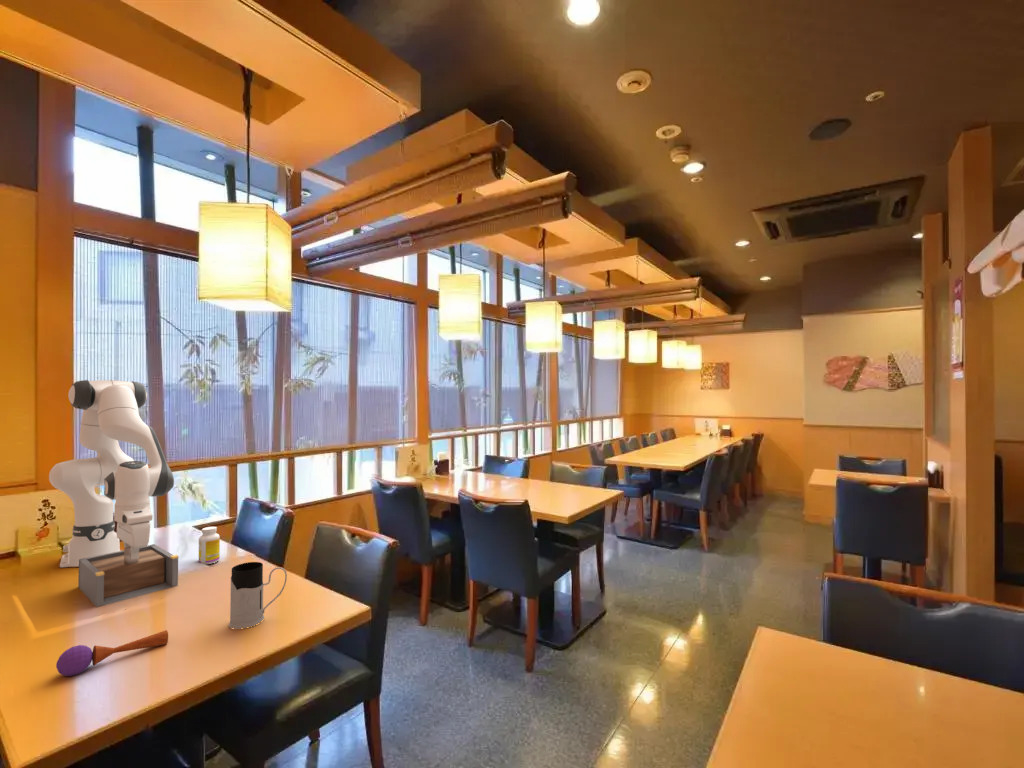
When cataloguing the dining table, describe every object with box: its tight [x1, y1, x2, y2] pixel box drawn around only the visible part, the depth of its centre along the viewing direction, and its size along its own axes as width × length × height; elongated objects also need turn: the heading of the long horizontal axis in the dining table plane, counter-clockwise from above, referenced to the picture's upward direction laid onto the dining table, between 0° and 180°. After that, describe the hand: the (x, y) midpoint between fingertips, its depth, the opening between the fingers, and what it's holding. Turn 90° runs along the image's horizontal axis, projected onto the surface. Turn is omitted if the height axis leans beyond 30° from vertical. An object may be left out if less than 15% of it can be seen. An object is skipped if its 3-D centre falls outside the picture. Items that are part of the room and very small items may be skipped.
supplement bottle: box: [198, 526, 221, 565], centre depth 178 cm, size 7×7×13 cm
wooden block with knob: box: [90, 546, 165, 598], centre depth 153 cm, size 14×16×13 cm
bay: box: [77, 544, 179, 608], centre depth 153 cm, size 24×20×11 cm
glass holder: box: [227, 561, 288, 630], centre depth 131 cm, size 9×14×15 cm, turn 111°
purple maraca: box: [55, 629, 169, 677], centre depth 112 cm, size 6×6×20 cm
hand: (131, 557), depth 151 cm, fingers closed on wooden block with knob, 4 cm apart
